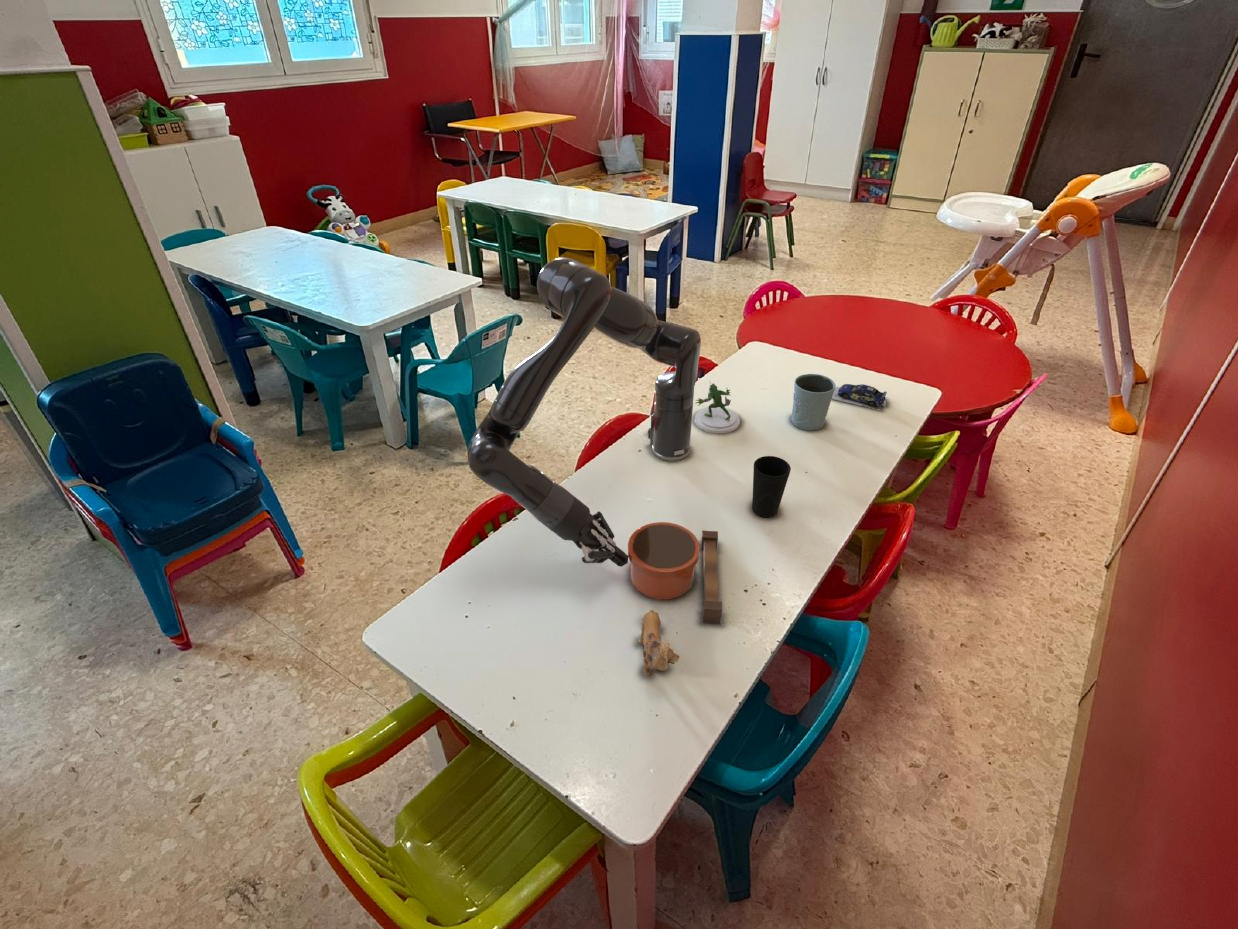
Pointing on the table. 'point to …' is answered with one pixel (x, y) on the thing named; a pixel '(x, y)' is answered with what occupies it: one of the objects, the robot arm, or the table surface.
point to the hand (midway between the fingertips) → (625, 561)
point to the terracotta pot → (663, 559)
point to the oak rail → (710, 578)
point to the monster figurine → (716, 413)
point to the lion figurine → (655, 645)
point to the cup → (769, 485)
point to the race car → (860, 396)
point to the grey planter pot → (811, 400)
